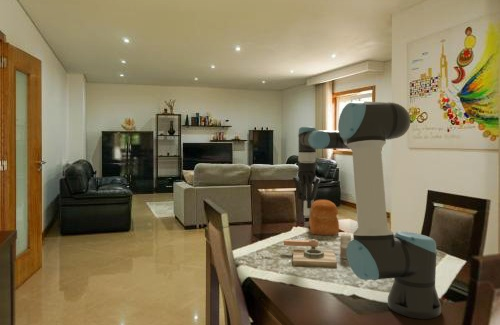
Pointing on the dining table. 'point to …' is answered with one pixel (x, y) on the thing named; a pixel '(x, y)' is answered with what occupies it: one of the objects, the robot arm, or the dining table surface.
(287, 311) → the dining table surface
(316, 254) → the stool seat
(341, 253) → the leg peg
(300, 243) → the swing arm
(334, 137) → the robot arm
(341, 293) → the dining table surface
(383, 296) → the dining table surface
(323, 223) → the bread
